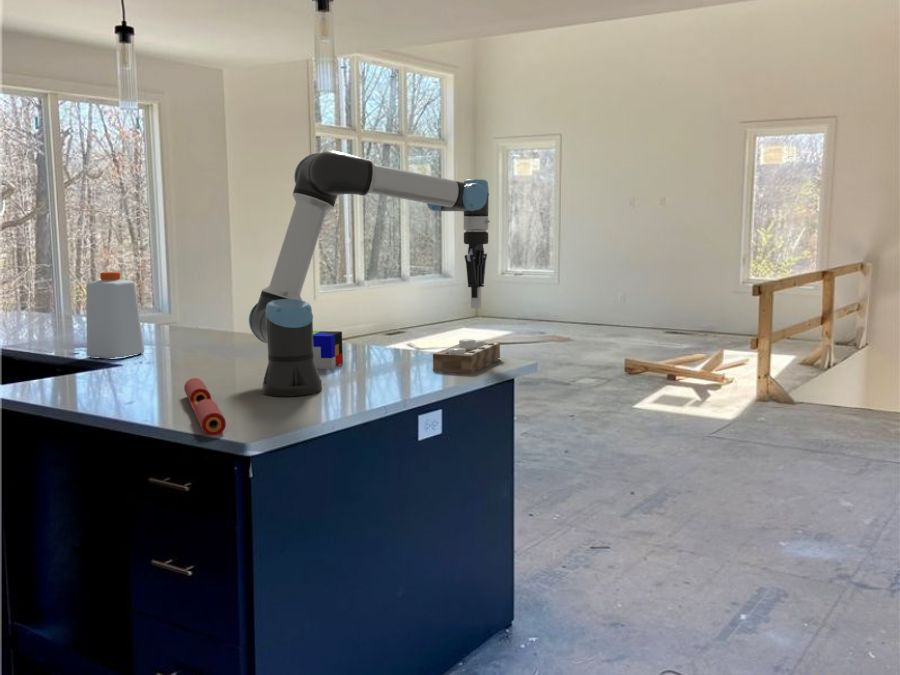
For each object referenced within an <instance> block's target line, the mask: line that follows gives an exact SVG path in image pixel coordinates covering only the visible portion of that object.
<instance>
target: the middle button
mask: <svg viewBox="0 0 900 675" xmlns="http://www.w3.org/2000/svg"><path fill="white" fill-rule="evenodd" d="M476 340H477V339H473V338H471V339H470V338H469V339H468V338H467V339H465V338H464V339H460V340H459V341H458V344H459V348H465V349H466V350H469V351H472V350H474V349H476Z"/></svg>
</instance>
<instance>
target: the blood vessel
mask: <svg viewBox="0 0 900 675" xmlns="http://www.w3.org/2000/svg"><path fill="white" fill-rule="evenodd" d="M183 390H184V393H185V395H186V398H187V400H188V402H189V404H190V405H191V408H192V410H193V412H194V415H195V417H196V420H197V422H198V424H199V425H200V428H201V431H202V432H203V433H204V434H205V435H206V436H214V435H221V434H222V433H223V432H224V431H225V430H226V428H227V422H226V419H225V417H224V415H223V413H222V412H221V410H220V408H219V407H218V404H217V403H216V402H215V401H214V400H213V399H212V396H211V393H210V391H209V390H208V388H207V386H206V385H205V383H204V382H203V380H201V379H200V378H197V377H193V378H190V379H188V380H187V381H186V382H185V384H184V388H183Z"/></svg>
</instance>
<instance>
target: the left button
mask: <svg viewBox="0 0 900 675" xmlns="http://www.w3.org/2000/svg"><path fill="white" fill-rule="evenodd" d="M465 353H466V349H465V348H451V349H449V354H455V355H463V354H465Z"/></svg>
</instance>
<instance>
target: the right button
mask: <svg viewBox="0 0 900 675" xmlns="http://www.w3.org/2000/svg"><path fill="white" fill-rule="evenodd" d="M475 340H476V346H478V347H482V346H484V345H485V343H486V340H481V339H480V340H478V339H475Z"/></svg>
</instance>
